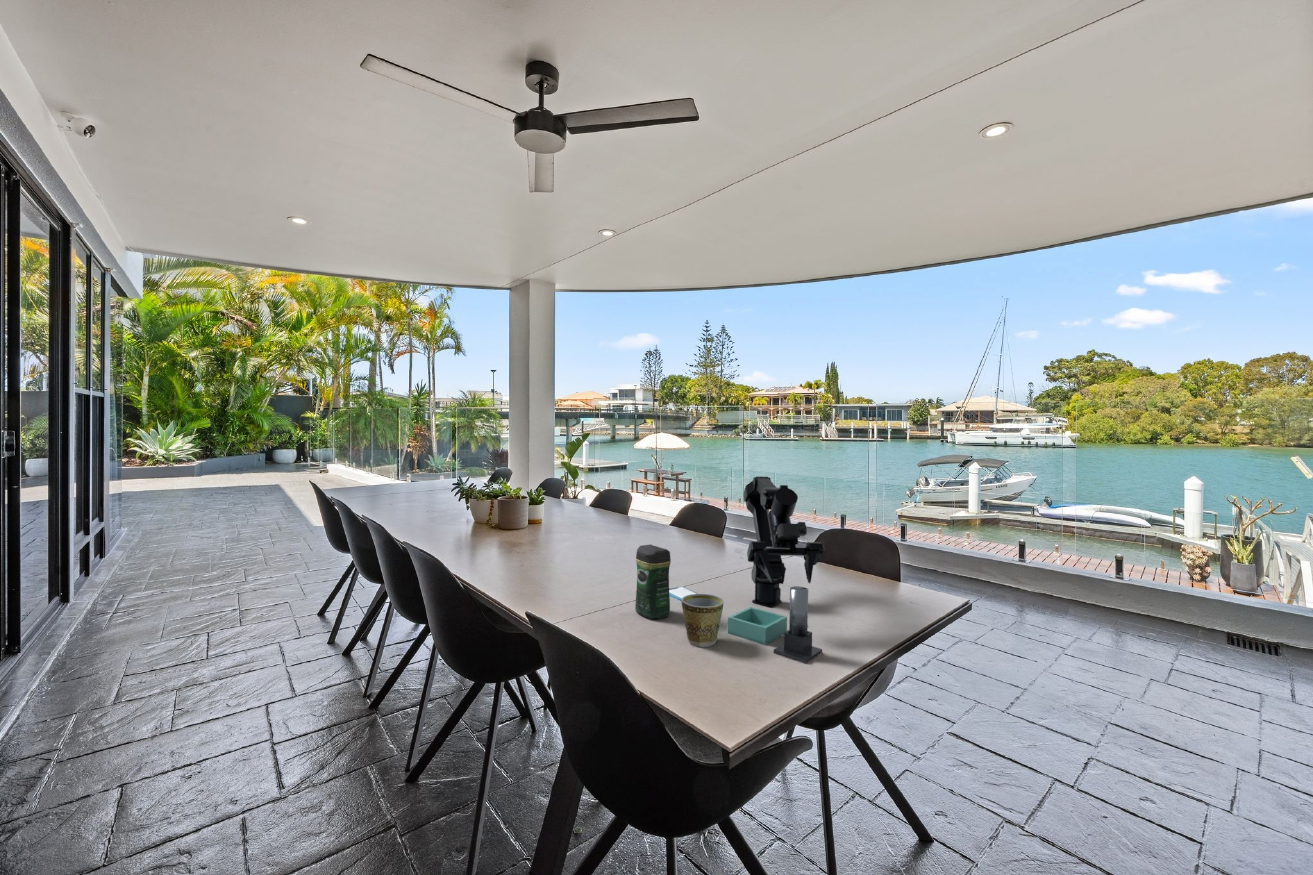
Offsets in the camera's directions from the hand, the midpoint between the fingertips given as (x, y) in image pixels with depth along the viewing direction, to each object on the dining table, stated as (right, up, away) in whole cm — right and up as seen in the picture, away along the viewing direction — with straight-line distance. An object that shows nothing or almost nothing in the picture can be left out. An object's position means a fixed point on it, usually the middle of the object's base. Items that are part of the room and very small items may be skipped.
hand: (791, 582), depth 132 cm
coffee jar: (-34, -13, +16) cm, 40 cm away
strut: (0, -13, -8) cm, 16 cm away
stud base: (0, -14, -8) cm, 16 cm away
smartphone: (-23, -13, +31) cm, 41 cm away
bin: (-8, -14, +3) cm, 16 cm away
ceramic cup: (-22, -14, -1) cm, 26 cm away
